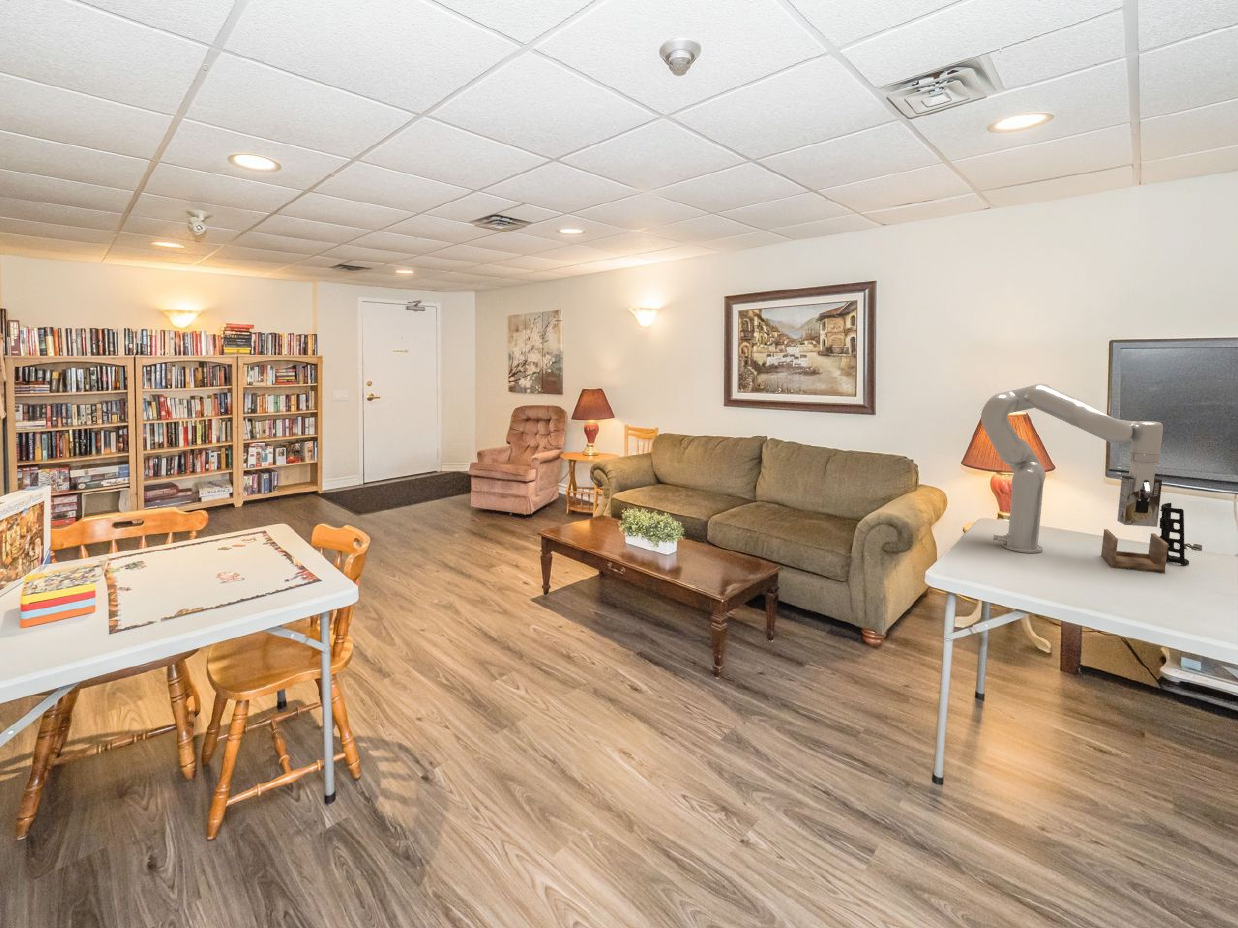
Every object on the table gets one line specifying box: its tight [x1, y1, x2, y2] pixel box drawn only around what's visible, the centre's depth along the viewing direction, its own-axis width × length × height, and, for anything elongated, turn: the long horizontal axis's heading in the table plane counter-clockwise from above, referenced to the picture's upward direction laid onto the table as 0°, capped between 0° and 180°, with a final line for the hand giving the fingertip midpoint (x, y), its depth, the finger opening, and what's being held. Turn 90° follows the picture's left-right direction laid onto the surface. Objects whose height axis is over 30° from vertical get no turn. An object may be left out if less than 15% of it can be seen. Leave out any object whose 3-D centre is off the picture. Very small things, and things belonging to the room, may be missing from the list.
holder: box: [1159, 502, 1190, 567], centre depth 209 cm, size 11×8×20 cm
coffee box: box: [1117, 475, 1163, 528], centre depth 204 cm, size 9×6×16 cm
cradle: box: [1100, 528, 1168, 574], centre depth 207 cm, size 14×14×10 cm
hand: (1138, 509), depth 204 cm, fingers closed on coffee box, 6 cm apart
